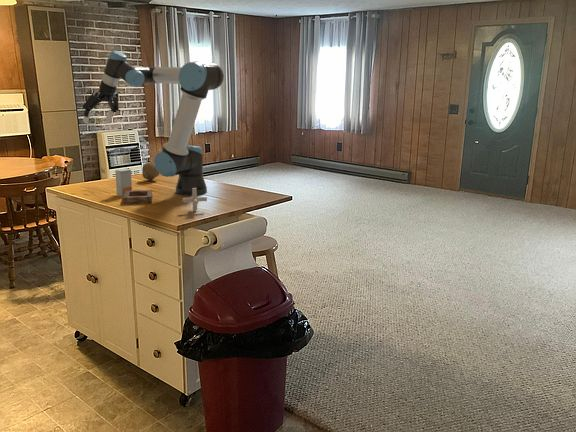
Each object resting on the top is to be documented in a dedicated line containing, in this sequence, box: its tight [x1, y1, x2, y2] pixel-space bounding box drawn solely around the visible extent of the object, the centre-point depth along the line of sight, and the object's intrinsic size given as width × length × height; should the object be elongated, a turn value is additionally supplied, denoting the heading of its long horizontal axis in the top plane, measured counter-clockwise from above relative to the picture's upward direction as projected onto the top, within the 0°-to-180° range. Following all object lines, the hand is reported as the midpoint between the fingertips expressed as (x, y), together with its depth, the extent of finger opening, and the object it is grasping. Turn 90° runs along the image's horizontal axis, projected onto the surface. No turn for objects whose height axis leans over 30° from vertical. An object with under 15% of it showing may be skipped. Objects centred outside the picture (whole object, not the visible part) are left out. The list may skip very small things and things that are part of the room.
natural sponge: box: [141, 161, 160, 181], centre depth 272 cm, size 9×9×10 cm
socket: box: [122, 189, 153, 205], centre depth 231 cm, size 12×14×3 cm
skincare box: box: [114, 168, 133, 197], centre depth 239 cm, size 6×4×12 cm
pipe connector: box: [182, 188, 208, 212], centre depth 213 cm, size 10×10×10 cm
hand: (96, 122), depth 247 cm, fingers open, 13 cm apart
